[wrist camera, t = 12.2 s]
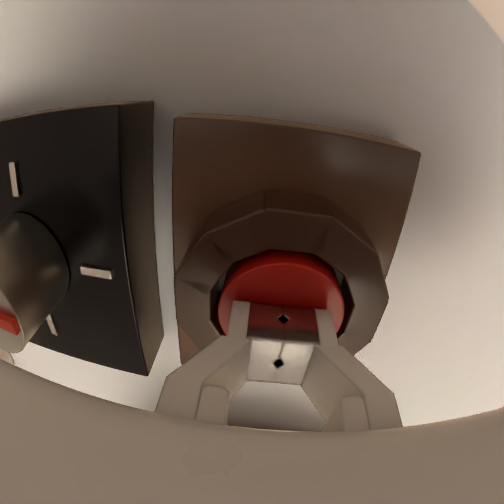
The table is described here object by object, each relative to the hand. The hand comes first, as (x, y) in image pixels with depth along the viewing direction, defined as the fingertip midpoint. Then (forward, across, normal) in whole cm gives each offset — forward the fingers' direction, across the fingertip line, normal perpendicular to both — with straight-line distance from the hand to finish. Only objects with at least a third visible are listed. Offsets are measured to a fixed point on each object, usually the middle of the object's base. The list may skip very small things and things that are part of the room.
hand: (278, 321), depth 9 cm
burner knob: (+1, +10, 0) cm, 10 cm away
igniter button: (+2, 0, 0) cm, 2 cm away
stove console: (+4, +10, 0) cm, 11 cm away
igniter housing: (+4, 0, 0) cm, 4 cm away
